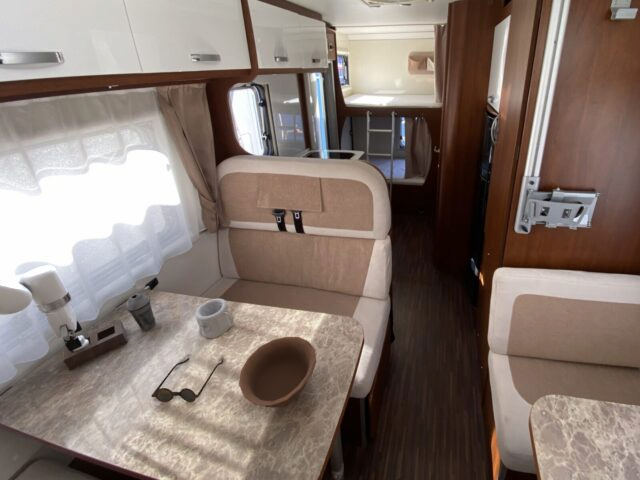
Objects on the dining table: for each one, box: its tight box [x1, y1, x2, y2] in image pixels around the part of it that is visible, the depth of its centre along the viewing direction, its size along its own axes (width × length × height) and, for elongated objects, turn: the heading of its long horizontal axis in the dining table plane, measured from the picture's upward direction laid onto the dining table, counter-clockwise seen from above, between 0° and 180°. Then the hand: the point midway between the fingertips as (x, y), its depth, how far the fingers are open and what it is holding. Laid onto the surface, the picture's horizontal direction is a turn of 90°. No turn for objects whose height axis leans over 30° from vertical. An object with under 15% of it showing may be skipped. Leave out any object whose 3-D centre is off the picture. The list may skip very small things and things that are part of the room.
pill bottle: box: [73, 335, 90, 352], centre depth 107 cm, size 4×4×8 cm
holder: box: [62, 319, 128, 371], centre depth 110 cm, size 16×9×5 cm, turn 133°
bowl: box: [238, 336, 317, 409], centre depth 91 cm, size 22×22×11 cm
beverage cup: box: [126, 283, 157, 332], centre depth 116 cm, size 7×7×20 cm
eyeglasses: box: [151, 357, 224, 403], centre depth 97 cm, size 15×15×5 cm
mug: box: [194, 298, 235, 339], centre depth 116 cm, size 14×11×10 cm
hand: (76, 340), depth 106 cm, fingers open, 9 cm apart
